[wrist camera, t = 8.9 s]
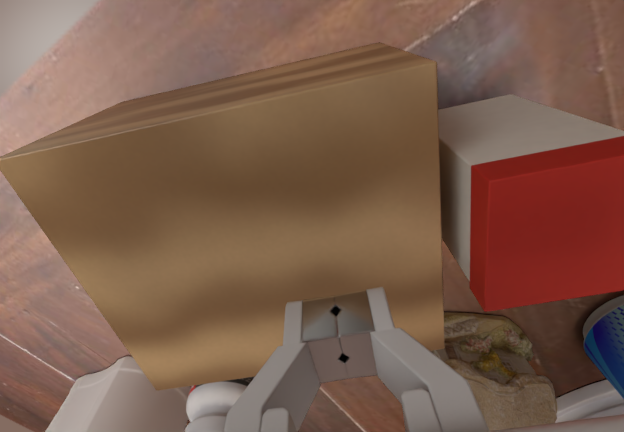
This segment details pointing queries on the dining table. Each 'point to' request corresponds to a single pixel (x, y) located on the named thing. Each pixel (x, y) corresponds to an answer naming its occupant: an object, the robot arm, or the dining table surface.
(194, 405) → the pill bottle
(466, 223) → the container
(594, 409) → the plate stack
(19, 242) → the dining table surface
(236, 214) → the block
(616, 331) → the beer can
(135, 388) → the jar
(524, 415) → the ceramic model
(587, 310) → the dining table surface
